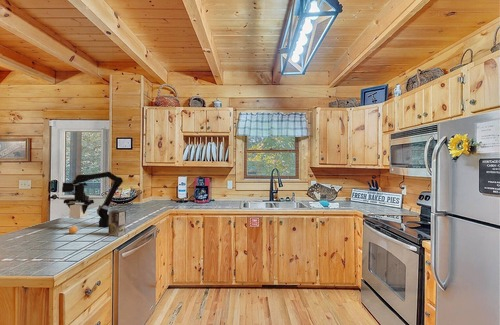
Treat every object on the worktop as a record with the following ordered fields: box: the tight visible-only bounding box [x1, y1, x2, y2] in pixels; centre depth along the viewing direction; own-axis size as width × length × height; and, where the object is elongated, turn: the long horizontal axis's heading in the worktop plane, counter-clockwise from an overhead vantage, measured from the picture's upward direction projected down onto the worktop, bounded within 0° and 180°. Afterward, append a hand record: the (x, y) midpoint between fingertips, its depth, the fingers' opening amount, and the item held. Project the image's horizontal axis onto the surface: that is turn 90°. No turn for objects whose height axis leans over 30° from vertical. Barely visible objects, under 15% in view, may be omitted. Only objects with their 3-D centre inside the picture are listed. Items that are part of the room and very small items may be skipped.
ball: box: [68, 225, 78, 235], centre depth 179 cm, size 5×5×5 cm
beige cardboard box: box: [68, 203, 88, 219], centre depth 189 cm, size 8×8×9 cm
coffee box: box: [107, 209, 127, 237], centre depth 180 cm, size 9×6×16 cm
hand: (78, 213), depth 190 cm, fingers closed on beige cardboard box, 8 cm apart
